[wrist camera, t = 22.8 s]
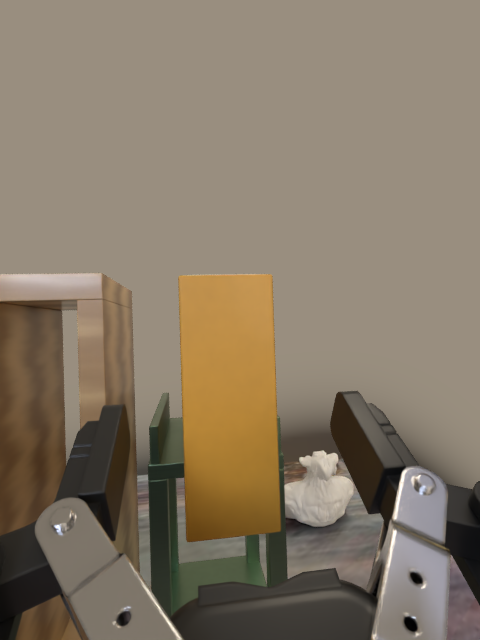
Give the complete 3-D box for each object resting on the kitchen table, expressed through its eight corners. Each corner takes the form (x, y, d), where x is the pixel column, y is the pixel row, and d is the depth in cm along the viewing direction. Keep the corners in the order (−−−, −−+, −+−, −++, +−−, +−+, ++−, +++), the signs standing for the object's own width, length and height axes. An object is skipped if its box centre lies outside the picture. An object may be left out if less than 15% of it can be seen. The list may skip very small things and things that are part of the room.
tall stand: (116, 780, 23) (102, 272, 23) (-23, 809, 22) (-35, 274, 22) (141, 625, 35) (131, 291, 35) (52, 637, 33) (43, 292, 34)
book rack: (293, 745, 24) (282, 417, 25) (156, 772, 23) (146, 426, 23) (259, 608, 36) (252, 387, 37) (167, 621, 35) (161, 393, 35)
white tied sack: (279, 543, 50) (296, 502, 44) (265, 491, 56) (278, 447, 50) (356, 529, 53) (383, 488, 47) (335, 480, 59) (356, 438, 52)
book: (281, 532, 15) (272, 272, 16) (186, 543, 15) (178, 274, 15) (228, 414, 36) (225, 303, 36) (188, 417, 36) (185, 304, 36)
